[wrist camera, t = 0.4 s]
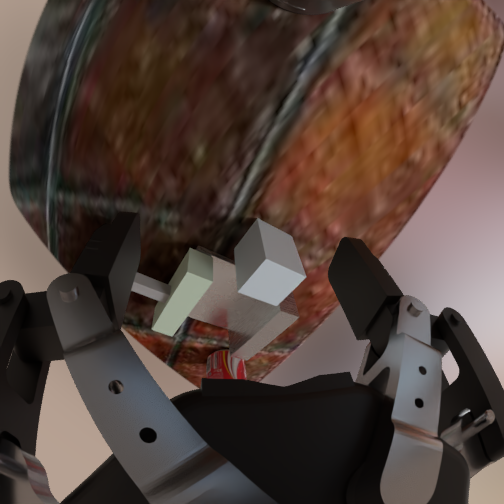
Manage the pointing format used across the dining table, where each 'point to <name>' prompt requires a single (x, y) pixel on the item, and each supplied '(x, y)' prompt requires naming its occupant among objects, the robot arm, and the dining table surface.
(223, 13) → the dining table surface
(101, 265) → the robot arm
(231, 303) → the frame
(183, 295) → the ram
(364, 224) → the dining table surface
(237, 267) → the block
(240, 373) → the soda can
